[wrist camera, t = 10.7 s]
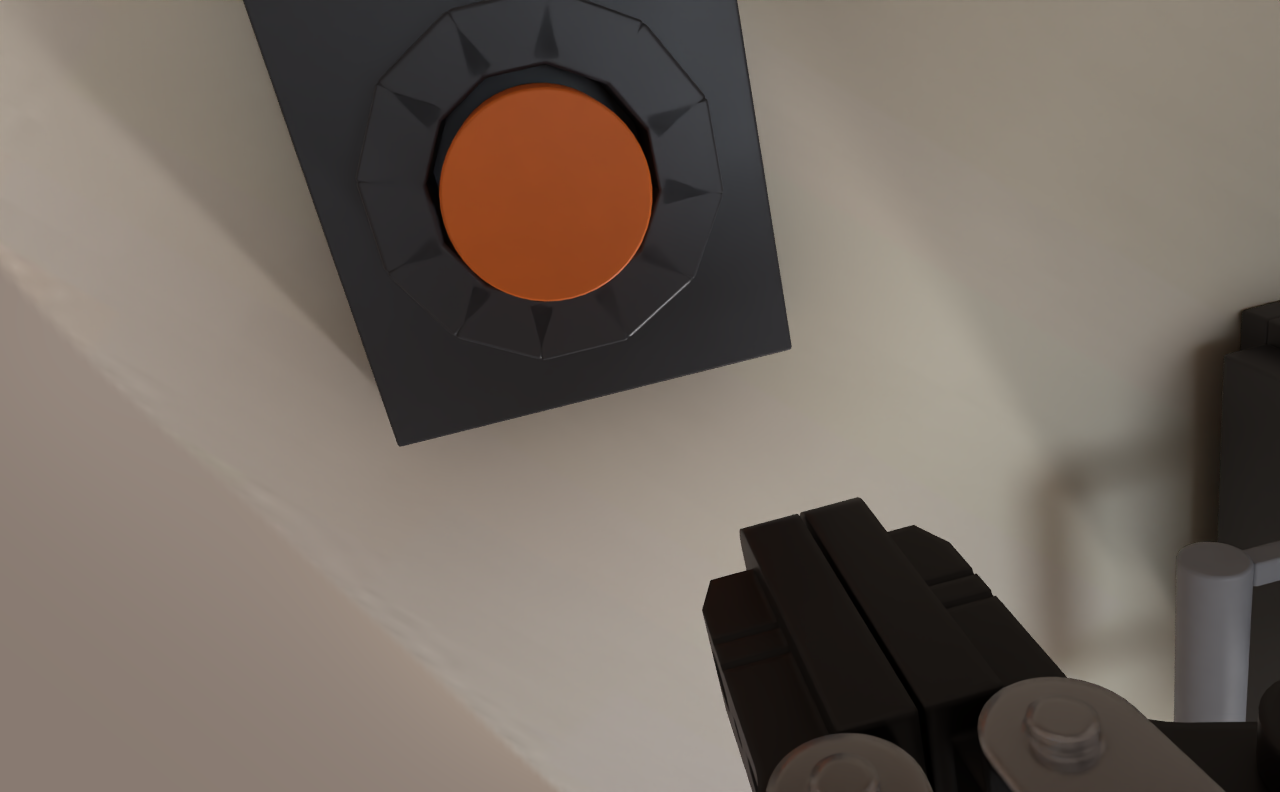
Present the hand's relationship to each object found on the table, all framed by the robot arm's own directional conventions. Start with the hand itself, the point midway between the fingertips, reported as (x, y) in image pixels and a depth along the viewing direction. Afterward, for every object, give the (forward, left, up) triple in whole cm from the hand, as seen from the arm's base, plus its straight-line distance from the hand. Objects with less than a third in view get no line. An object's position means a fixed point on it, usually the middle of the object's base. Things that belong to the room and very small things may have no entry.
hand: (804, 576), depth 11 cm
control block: (-4, -2, -11) cm, 12 cm away
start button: (-4, -2, -8) cm, 9 cm away
